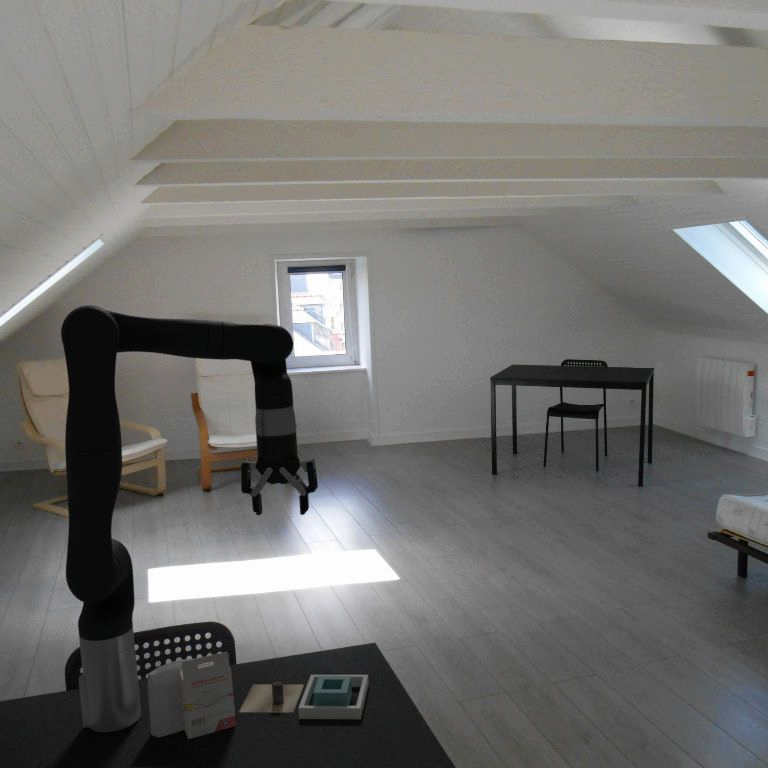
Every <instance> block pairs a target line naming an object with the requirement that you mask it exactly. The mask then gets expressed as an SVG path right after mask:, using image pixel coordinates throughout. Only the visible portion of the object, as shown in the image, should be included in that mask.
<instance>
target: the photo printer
mask: <svg viewBox="0 0 768 768" xmlns="http://www.w3.org/2000/svg"><path fill="white" fill-rule="evenodd" d="M193 659H194V658H187V659H186V658H185V659H179V660H173V661H171V662H168V663H165V664H163V665H161V666H159V667H157V668H156V669H154V670H152V671H150V672H149V673H148V675H147V697H148V709H149V710H148V711H149V712H148V713H149V722H150V724H149V725H150V734H151V735H152V736H153V737H156V738H162V737H166V736H169V735H172V734H177V733H179V732H182V731H185V729H184V720H183V711H182V701H181V690H180V679H179V671H182V663H183V662H184V661H189V660H193Z"/></svg>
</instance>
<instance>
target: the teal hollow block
mask: <svg viewBox="0 0 768 768" xmlns="http://www.w3.org/2000/svg"><path fill="white" fill-rule="evenodd" d="M352 688H353V687H352V684H351V676H319V678H318V681H317V684H316V686H315V688H314V691H313V694H312V697H313V706H351V701H352V698H353V689H352Z"/></svg>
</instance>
